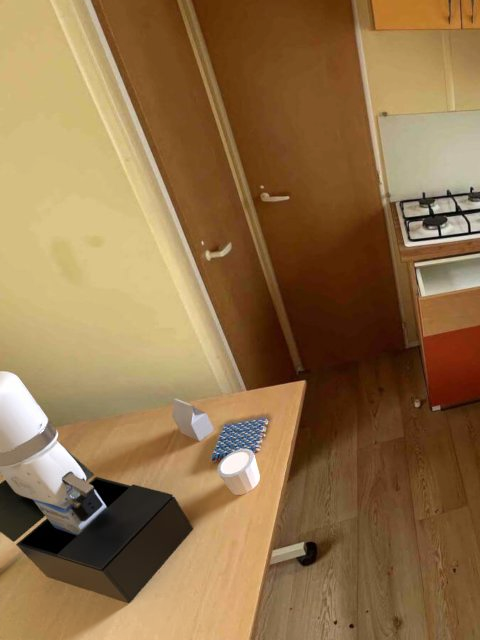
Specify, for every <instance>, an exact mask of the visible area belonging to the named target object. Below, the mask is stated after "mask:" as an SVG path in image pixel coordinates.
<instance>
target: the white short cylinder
mask: <svg viewBox="0 0 480 640" xmlns="http://www.w3.org/2000/svg"><path fill="white" fill-rule="evenodd" d="M216 473H217V474H218V476H219V477H220V479H221V480H222V481H223V483H224V484H225V485H226V487H227V488H228V490H229V491H230V492H231V494H232V495H235V496H242V495H245V494H248V493H250V492H251V491H252V490H254V489H255V487H256V486H257V485H258V483H260V477H261V476H260V471H259V468H258V463H257V460H256V456H255V453H253V452H252V450H249V449H239V450H236V451H233V452H232V453H230V454H228V455H227V456H226V457H225V458H224V459H222V460H221V461H219V464H218V465H217V469H216Z"/></svg>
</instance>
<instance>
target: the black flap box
mask: <svg viewBox="0 0 480 640" xmlns="http://www.w3.org/2000/svg"><path fill="white" fill-rule="evenodd" d="M88 483H89V484H91V485H92V486H93V487H94V489H95V491H96V492H97V494H98V495H99V496H100V498H101V500H102V501H103V502H104V504H105V505H106V507H107V509H106V510H105V511H103V512H102V513H101V514H100V515H99V516H98V517H97V518H96V519H95V520H94V521H93V522H92V523H90V524H89V525H88V526H87V527H86V528H85V529H84V530H83V531H82V532H81V533H80V534H79V535H78V536H77V535H74V534H71V533H68V532H65V531H62V530H59V529H56V528H54V526H53V525H52V524H51V522H50V521H49V520H48V519H47V518H46V519H44V520H43V521H42V522H40V523H39V525H37V526H36V527H35V528H34V529H33V530H31V531H30V532H29V533H27V534H26V535H25V536H24V537H23V538H21V540H20V541H18V542H17V543H16V544H15V545H16V546H17V547H18V548H19V550H21V552H22V553H23V554H24V555H25V556H26V557H27V558H28V559H29V560H30V561H31V562H32V563H33V564H34V565H35V566H36V567H37V568H38V569H39V571H40V572H42V573H43V574H44V576H45V577H47V578H49V579H53V580H56V581H58V582H62V583H65V584H68V585H71V586H74V587H77V588H81V589H83V590H87V591H90V592H92V593H96V594H98V595H102V596H105V597H108V598H111V599H113V600H118V601H120V602H123V603H127V604H131V602H133V600H134V599H135V598H136V597H137V595H138V594H139V593H140V592H141V591H142V590H143V588H145V586H146V585H147V584H148V583H149V582H150V581H151V579H152V578H153V577H154V576H155V575H156V574H157V572H158V571H160V569H161V568H162V566H163V565H165V563H166V562H167V561H168V560H169V558H170V557H171V556H172V555H173V554H174V552H176V550H177V549H179V547H180V545H181V544H182V543H183V542H184V541H185V540H186V538H188V537H189V535H190V534H191V533H192V532H193V531H194V527H193V525H192V524H191V522H190V520H189V518H188V517H187V516H186V514H185V512H184V511H183V508H182V507H181V506H180V503H179V502H178V501H177V499H176V497H175V496H174V495H173V494H172V493H168V492H165V491H160V490H157V489H153V488H150V487H145V486H141V485H136V484H131V485H130V484H126V483H122V482H120V481H119V482H118V481H115V480H111V479H106V478H103V477H99V476H95V477H94V478H92V480H90V481H89V482H88Z"/></svg>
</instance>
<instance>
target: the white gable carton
mask: <svg viewBox="0 0 480 640" xmlns="http://www.w3.org/2000/svg"><path fill="white" fill-rule="evenodd" d="M172 401H173V406H172V407H173V408H172V414H171V417H172V419H173V420H174V423H175V425H176V426H177V428H178V431H179V433H180V434H181V435H184V436H186V437H189V438H191V439H193V440H195V441H197V442H202V441H203V440H205V438H207V436H209V435H210V434H211V433H213V432H214V431H215V429H214V426H213V424H212V422H211V420H210V418H209V416H208V413H207V412H206V411H203V410H200V409H198V408H197V407H196V406H195V405H194V404H191V403H188V402H187V401H183V400H181V399H179V398H176V397H175V398H173V399H172Z"/></svg>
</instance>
